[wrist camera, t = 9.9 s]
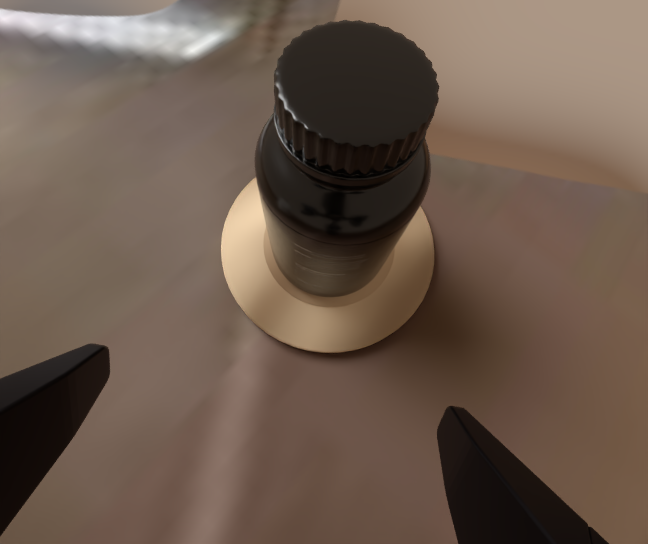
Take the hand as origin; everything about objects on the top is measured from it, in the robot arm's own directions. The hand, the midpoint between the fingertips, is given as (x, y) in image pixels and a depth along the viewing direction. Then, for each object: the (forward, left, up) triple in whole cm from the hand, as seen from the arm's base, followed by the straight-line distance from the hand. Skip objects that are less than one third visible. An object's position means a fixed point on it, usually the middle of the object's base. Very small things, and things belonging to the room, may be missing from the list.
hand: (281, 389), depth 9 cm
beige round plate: (+3, -8, -11) cm, 14 cm away
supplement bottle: (+3, -8, -10) cm, 13 cm away
